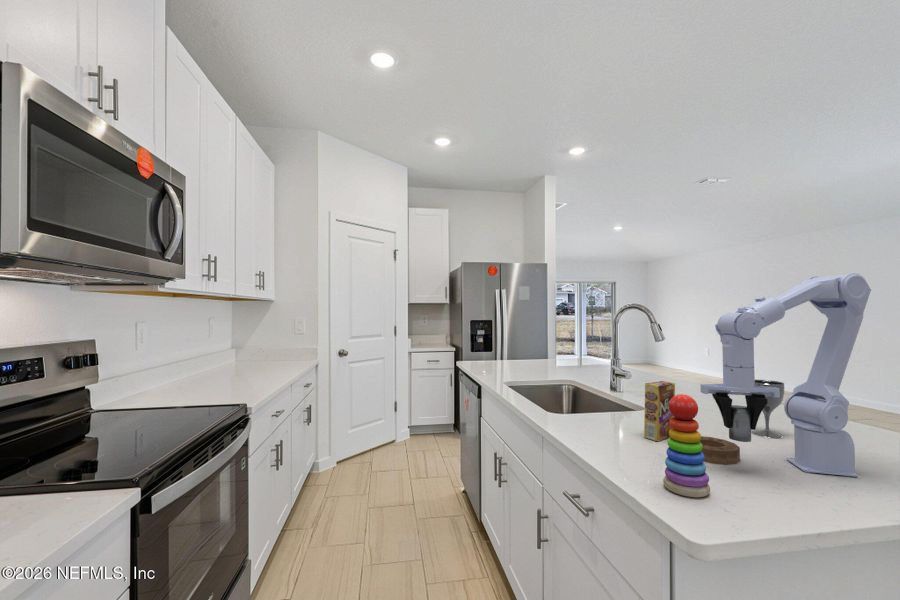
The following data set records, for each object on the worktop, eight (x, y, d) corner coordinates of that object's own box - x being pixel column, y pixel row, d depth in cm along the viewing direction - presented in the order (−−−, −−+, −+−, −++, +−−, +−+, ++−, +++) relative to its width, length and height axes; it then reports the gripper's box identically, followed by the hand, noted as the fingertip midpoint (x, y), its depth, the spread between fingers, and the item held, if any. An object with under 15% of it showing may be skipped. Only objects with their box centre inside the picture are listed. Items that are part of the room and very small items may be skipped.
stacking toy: (667, 478, 85) (666, 389, 85) (712, 488, 80) (711, 393, 80) (659, 491, 78) (657, 395, 79) (707, 503, 73) (705, 400, 74)
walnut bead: (728, 450, 101) (728, 438, 102) (747, 466, 91) (746, 453, 91) (680, 446, 105) (680, 434, 105) (692, 461, 94) (692, 448, 94)
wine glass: (743, 431, 117) (742, 380, 118) (762, 429, 120) (761, 378, 120) (772, 440, 110) (771, 385, 110) (792, 437, 112) (791, 383, 112)
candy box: (659, 442, 108) (658, 385, 108) (643, 438, 111) (643, 383, 112) (676, 436, 113) (675, 382, 113) (661, 432, 116) (660, 380, 117)
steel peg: (748, 437, 90) (747, 406, 90) (753, 442, 86) (753, 410, 86) (727, 435, 91) (726, 404, 92) (731, 440, 88) (730, 408, 88)
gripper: (767, 365, 91) (769, 425, 91) (695, 362, 95) (696, 420, 95) (784, 369, 84) (785, 434, 84) (705, 366, 88) (707, 428, 88)
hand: (739, 427), depth 89 cm, fingers closed on steel peg, 4 cm apart
